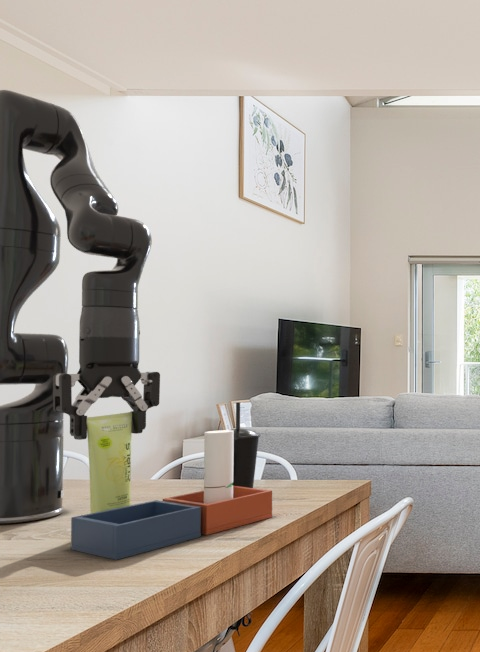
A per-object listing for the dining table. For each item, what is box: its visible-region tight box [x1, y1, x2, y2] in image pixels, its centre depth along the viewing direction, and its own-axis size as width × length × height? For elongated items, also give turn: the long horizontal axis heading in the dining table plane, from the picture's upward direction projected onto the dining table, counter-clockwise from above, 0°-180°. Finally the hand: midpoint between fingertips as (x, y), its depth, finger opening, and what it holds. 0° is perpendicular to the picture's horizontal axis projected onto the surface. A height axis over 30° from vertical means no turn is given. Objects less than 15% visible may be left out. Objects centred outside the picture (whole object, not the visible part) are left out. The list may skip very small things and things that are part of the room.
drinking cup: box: [230, 402, 261, 488], centre depth 113 cm, size 8×8×20 cm
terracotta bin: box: [162, 486, 273, 536], centre depth 101 cm, size 12×12×5 cm
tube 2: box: [203, 429, 234, 504], centre depth 101 cm, size 4×4×15 cm
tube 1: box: [86, 411, 133, 514], centre depth 94 cm, size 6×5×20 cm
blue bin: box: [70, 499, 202, 560], centre depth 89 cm, size 12×12×5 cm
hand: (109, 435), depth 94 cm, fingers closed on tube 1, 7 cm apart
